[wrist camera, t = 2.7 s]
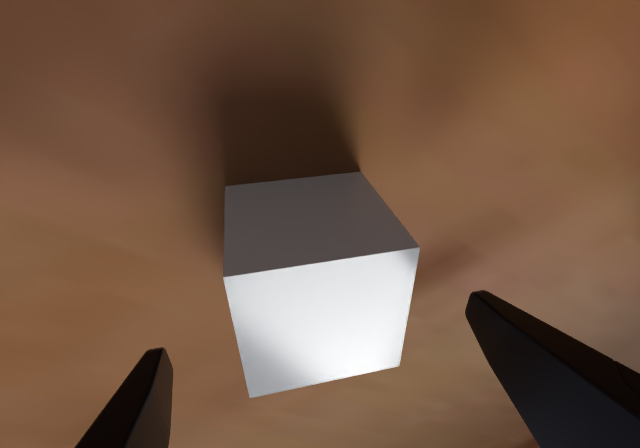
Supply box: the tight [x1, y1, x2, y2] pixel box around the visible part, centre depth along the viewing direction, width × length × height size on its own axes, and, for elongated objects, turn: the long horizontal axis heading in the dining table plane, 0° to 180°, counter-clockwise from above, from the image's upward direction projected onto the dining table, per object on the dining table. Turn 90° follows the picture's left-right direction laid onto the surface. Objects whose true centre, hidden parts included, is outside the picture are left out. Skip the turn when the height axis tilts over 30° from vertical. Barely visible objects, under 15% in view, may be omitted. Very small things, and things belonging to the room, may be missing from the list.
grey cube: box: [223, 172, 420, 398], centre depth 12 cm, size 5×5×5 cm
